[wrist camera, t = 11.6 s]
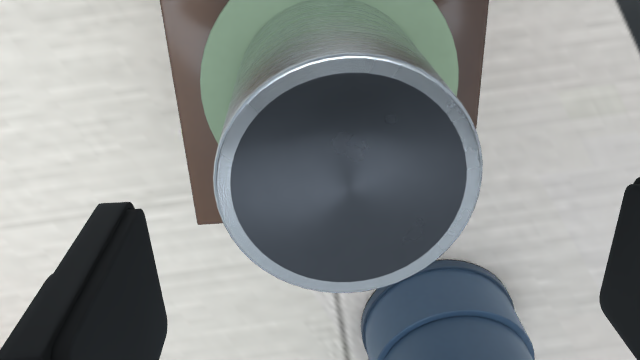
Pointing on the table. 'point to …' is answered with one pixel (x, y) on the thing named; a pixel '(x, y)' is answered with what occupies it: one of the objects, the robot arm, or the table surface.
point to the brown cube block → (185, 58)
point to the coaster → (264, 3)
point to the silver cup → (343, 151)
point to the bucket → (444, 317)
